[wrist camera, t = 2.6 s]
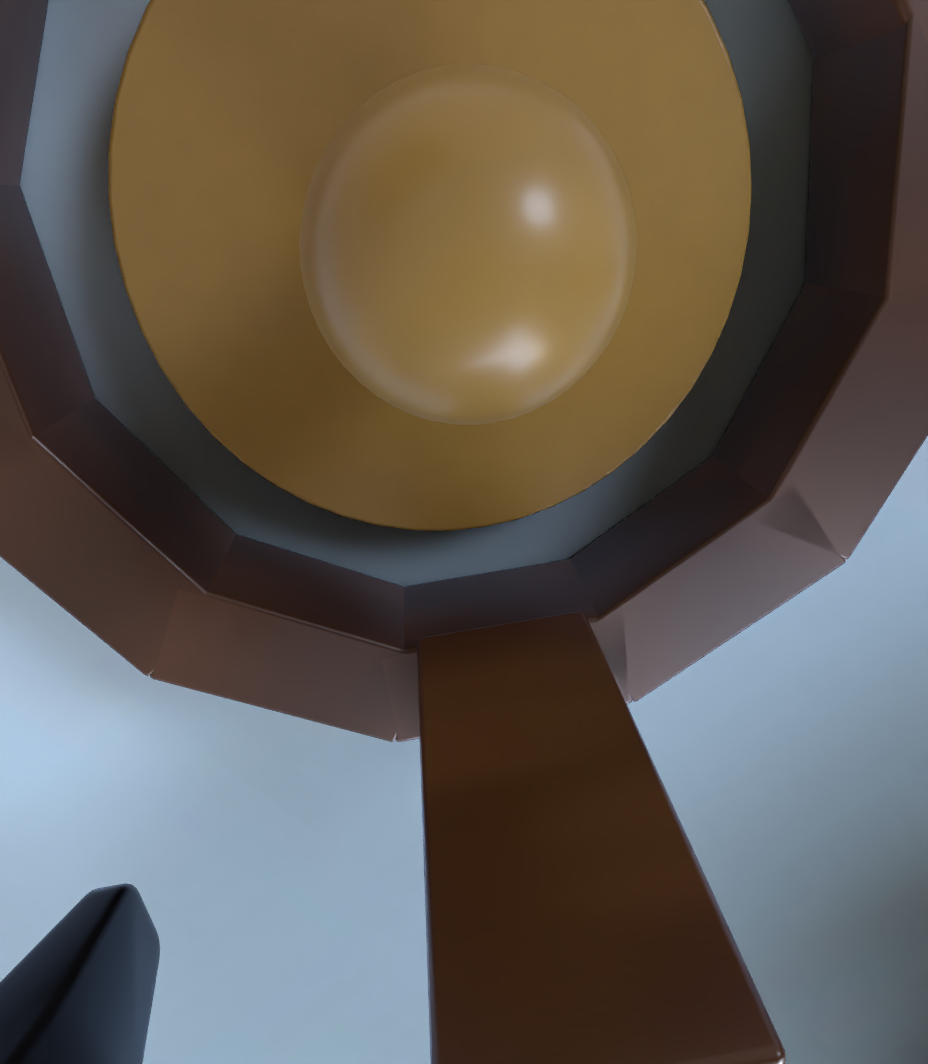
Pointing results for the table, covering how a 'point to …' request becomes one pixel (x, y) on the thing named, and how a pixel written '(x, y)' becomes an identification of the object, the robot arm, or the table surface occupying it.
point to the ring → (523, 597)
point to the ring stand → (430, 237)
